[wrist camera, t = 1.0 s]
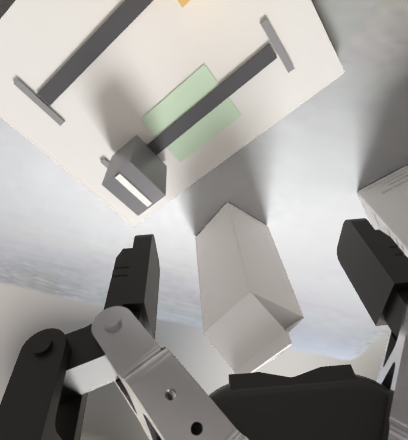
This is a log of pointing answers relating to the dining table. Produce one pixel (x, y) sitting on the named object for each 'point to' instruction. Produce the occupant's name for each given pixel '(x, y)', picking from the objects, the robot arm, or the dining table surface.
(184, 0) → the fader amber
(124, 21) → the board
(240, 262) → the milk carton
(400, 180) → the supplement box
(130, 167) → the fader charcoal
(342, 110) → the dining table surface
